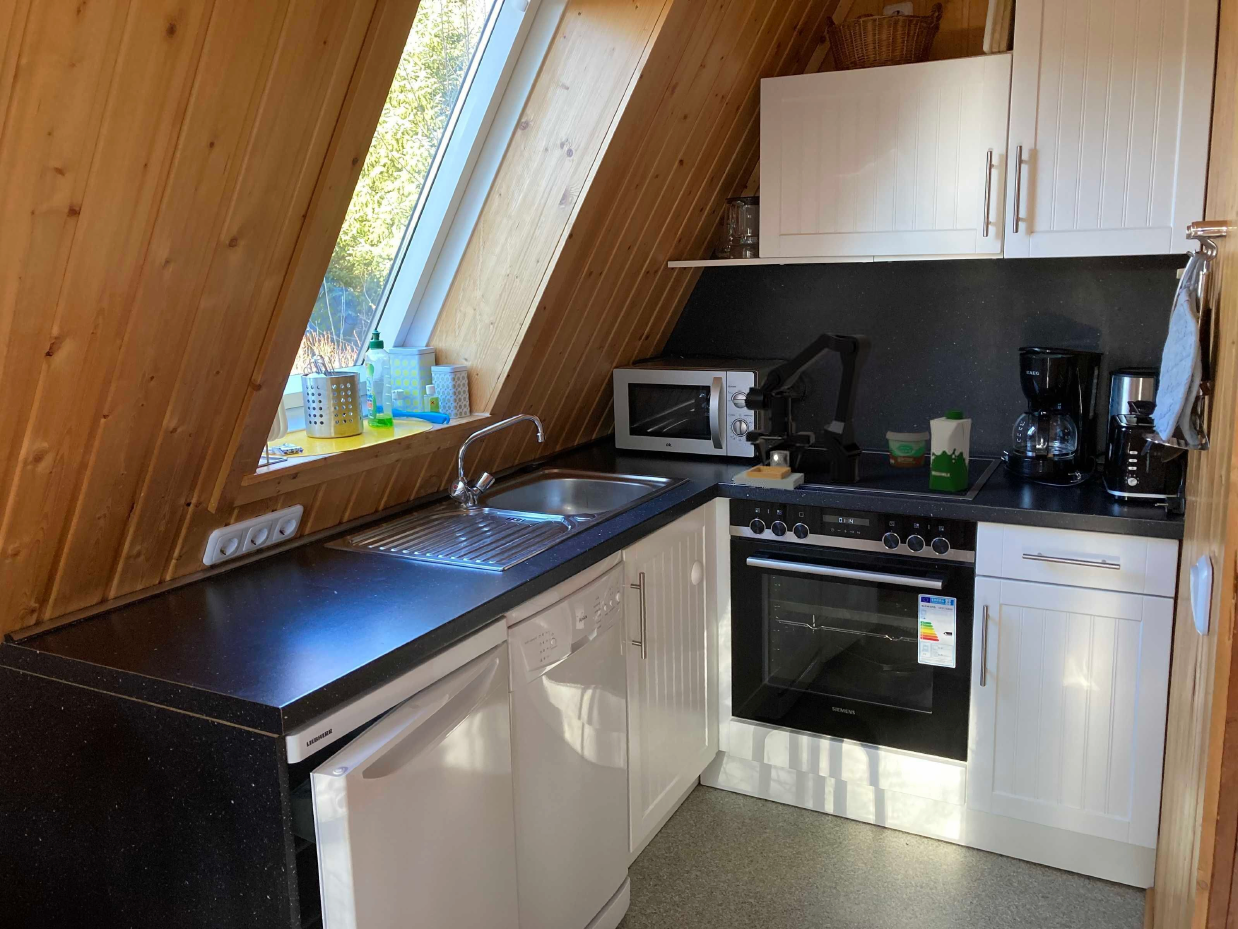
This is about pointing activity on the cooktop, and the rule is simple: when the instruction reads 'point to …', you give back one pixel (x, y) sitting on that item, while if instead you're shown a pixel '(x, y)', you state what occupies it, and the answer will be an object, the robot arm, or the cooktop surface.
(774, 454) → the steel can
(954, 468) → the milk carton
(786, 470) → the grey slab with frame
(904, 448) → the food container
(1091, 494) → the cooktop surface
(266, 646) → the cooktop surface
